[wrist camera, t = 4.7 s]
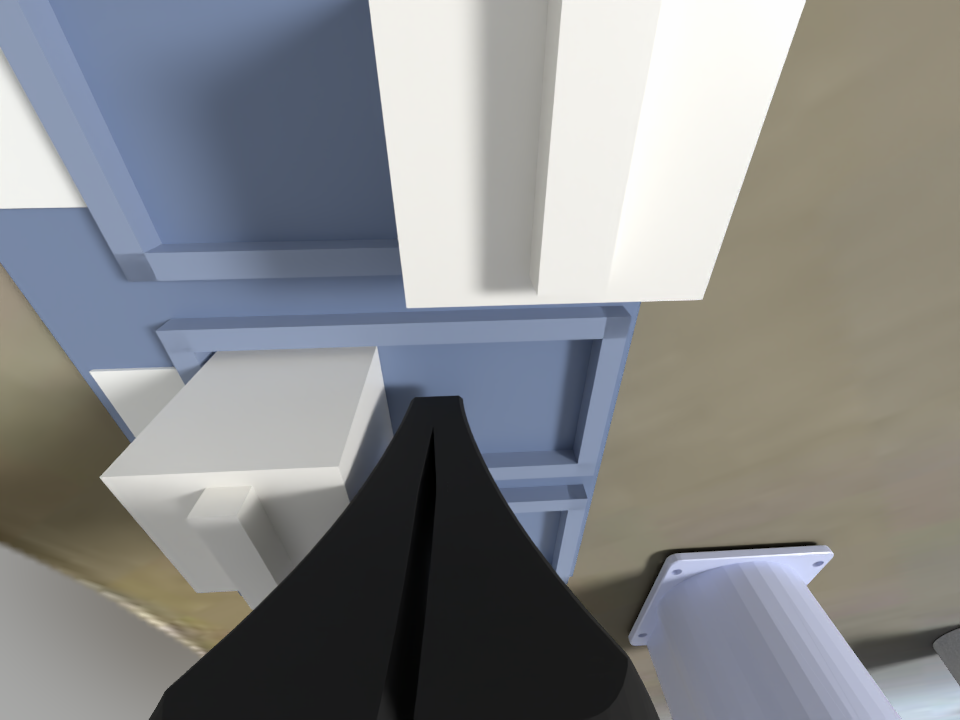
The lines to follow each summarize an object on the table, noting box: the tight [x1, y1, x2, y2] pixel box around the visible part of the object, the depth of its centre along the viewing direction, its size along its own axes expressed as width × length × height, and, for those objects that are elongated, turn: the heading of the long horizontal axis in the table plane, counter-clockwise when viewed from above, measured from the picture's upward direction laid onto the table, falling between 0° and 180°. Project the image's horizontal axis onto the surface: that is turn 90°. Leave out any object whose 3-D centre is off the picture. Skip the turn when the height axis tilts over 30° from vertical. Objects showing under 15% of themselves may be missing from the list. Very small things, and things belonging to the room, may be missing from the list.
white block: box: [99, 346, 393, 609], centre depth 9 cm, size 4×4×5 cm
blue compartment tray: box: [0, 0, 641, 596], centre depth 11 cm, size 21×14×2 cm
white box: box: [369, 0, 806, 308], centre depth 5 cm, size 4×4×5 cm
